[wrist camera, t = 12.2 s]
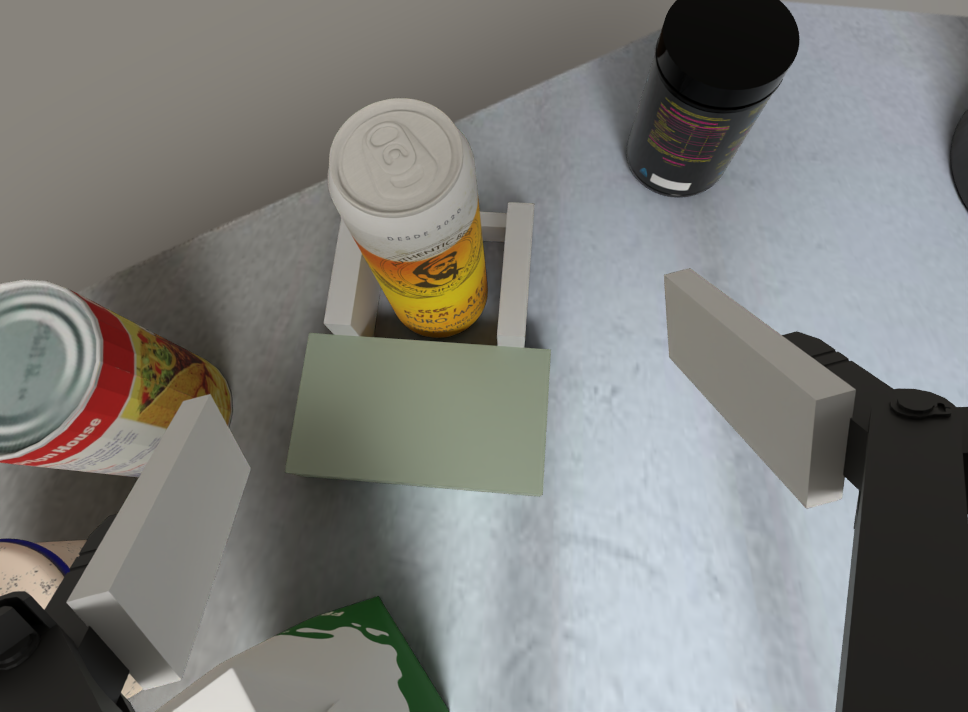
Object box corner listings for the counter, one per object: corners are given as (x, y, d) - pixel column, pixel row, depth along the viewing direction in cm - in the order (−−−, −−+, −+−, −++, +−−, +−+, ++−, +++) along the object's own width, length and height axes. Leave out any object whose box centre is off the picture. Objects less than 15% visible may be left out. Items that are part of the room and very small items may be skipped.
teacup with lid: (29, 560, 34) (-212, 581, 22) (180, 513, 34) (18, 511, 23) (44, 791, 30) (-228, 951, 19) (213, 737, 31) (41, 863, 19)
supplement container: (729, 123, 39) (804, -11, 29) (719, 210, 38) (795, 99, 28) (630, 109, 40) (670, -27, 30) (616, 194, 38) (654, 79, 28)
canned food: (197, 330, 37) (55, 246, 26) (255, 430, 35) (130, 387, 24) (87, 399, 36) (-112, 344, 25) (140, 506, 34) (-49, 500, 23)
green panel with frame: (555, 231, 38) (561, 189, 33) (539, 496, 33) (544, 493, 28) (346, 219, 39) (323, 177, 34) (303, 476, 34) (269, 469, 29)
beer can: (420, 358, 36) (359, 251, 21) (378, 280, 37) (294, 131, 23) (505, 313, 36) (501, 178, 22) (459, 237, 38) (428, 65, 24)
